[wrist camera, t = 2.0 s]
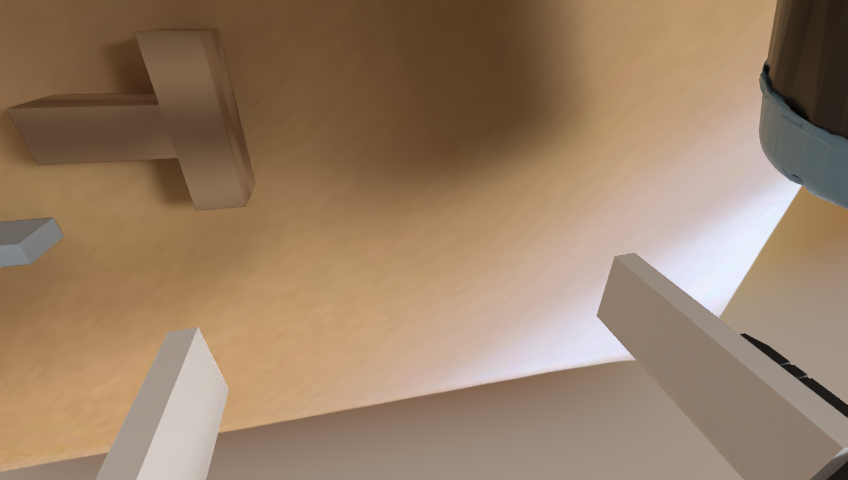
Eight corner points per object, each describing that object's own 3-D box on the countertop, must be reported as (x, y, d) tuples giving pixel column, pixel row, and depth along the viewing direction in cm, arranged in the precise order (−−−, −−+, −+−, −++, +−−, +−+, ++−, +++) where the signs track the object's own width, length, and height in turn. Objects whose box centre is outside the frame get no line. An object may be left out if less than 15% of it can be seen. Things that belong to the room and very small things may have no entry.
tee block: (255, 183, 27) (245, 206, 24) (101, 193, 25) (68, 220, 22) (218, 29, 22) (199, 32, 19) (21, 27, 20) (-39, 30, 17)
